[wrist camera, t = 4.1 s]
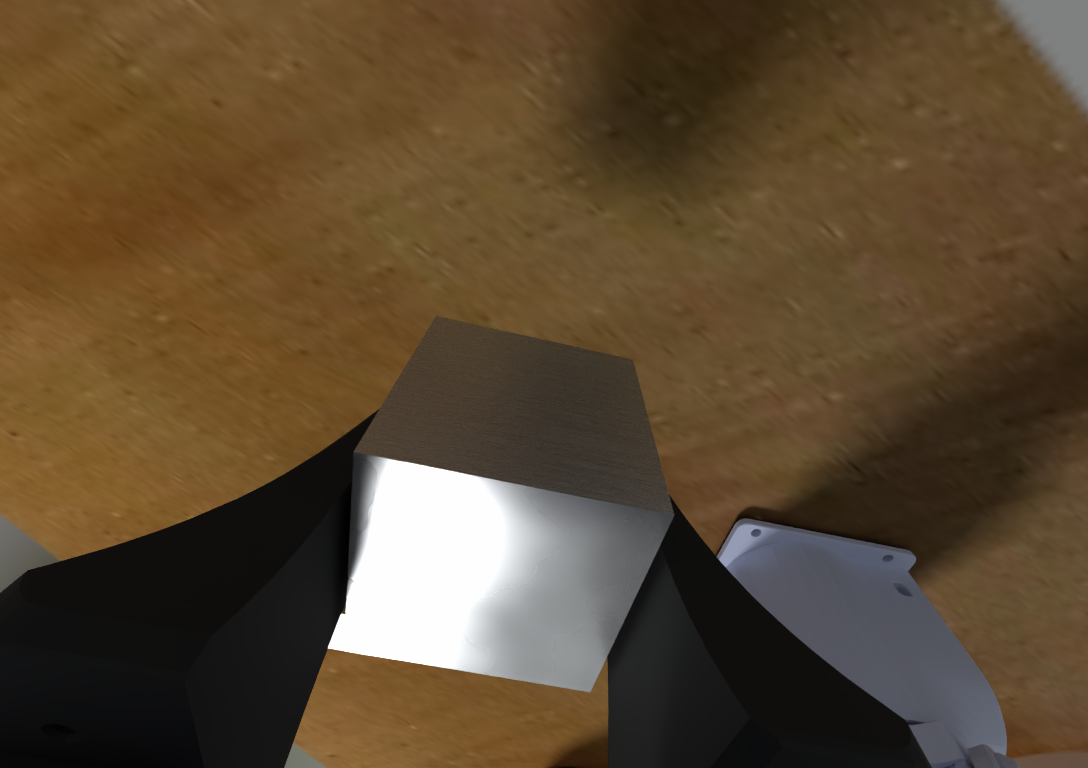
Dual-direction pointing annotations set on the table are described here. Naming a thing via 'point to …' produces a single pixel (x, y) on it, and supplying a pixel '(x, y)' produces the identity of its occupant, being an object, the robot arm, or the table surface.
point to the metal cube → (503, 508)
